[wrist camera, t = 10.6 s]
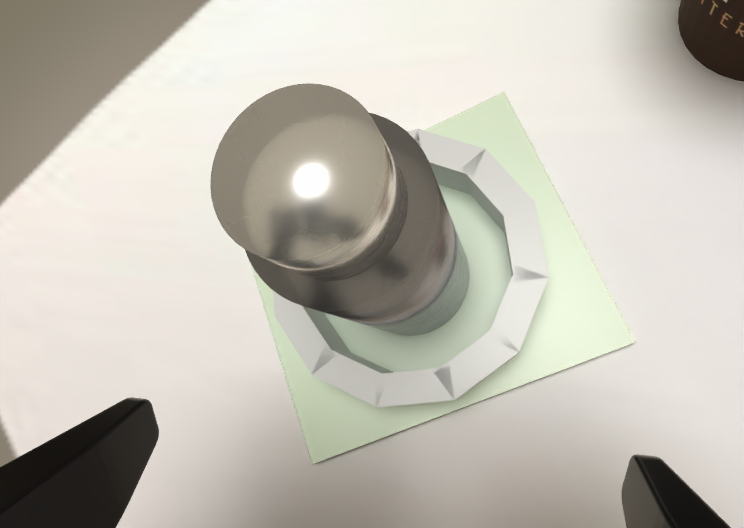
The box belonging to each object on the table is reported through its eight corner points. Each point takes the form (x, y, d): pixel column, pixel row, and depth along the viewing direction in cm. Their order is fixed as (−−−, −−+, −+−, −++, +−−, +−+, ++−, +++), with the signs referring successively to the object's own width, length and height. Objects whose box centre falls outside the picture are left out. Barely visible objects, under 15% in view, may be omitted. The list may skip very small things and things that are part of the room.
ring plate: (316, 462, 22) (287, 475, 19) (242, 223, 25) (208, 204, 23) (632, 342, 20) (652, 338, 17) (504, 97, 23) (503, 59, 20)
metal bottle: (376, 353, 22) (217, 336, 10) (337, 247, 23) (158, 121, 11) (489, 307, 21) (462, 228, 9) (441, 200, 22) (364, 11, 11)
